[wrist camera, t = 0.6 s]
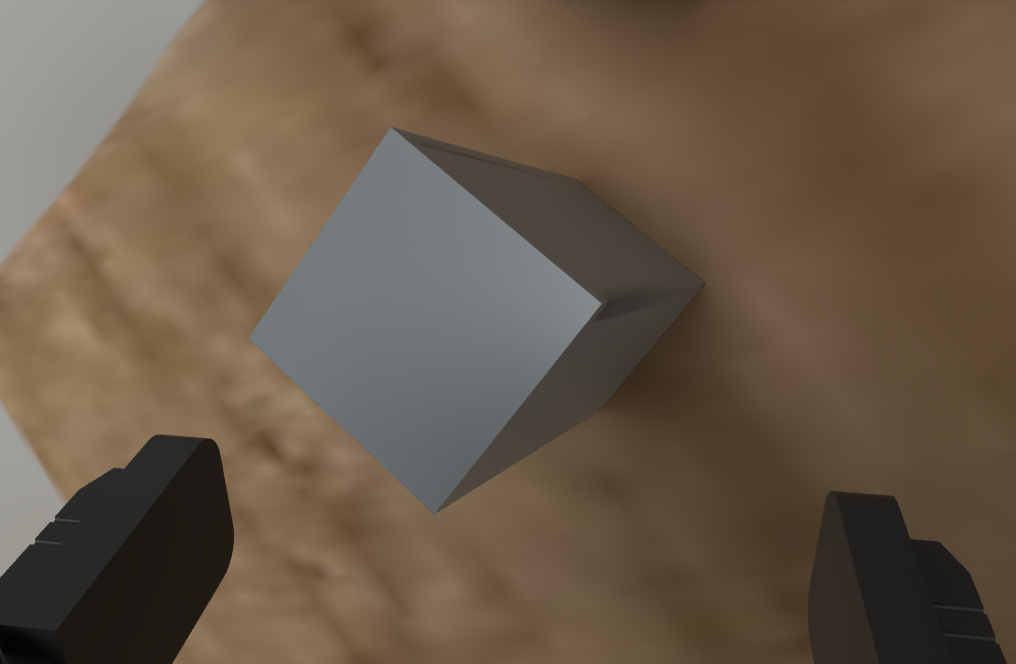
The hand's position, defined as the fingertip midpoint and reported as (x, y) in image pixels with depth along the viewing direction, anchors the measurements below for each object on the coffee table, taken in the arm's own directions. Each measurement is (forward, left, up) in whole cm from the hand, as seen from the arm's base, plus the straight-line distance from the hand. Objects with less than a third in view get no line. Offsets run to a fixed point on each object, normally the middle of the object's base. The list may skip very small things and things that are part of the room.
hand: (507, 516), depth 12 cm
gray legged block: (+1, -6, -24) cm, 25 cm away
